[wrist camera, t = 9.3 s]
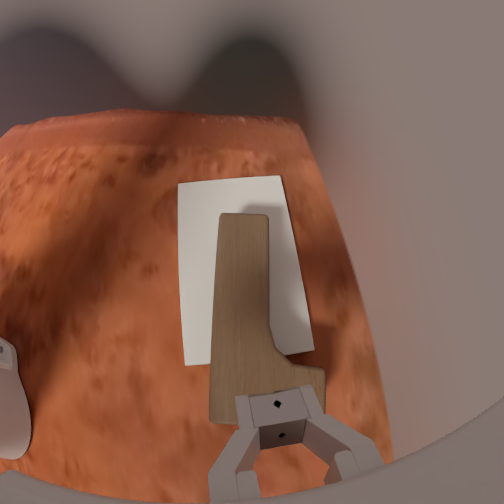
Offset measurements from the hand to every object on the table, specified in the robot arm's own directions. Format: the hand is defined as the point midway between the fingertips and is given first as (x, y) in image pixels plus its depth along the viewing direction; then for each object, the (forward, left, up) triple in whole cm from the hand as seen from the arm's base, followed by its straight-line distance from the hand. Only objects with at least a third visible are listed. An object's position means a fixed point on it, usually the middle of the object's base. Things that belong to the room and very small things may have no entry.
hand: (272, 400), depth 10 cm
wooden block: (+2, -3, -13) cm, 13 cm away
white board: (-6, +11, -16) cm, 20 cm away
